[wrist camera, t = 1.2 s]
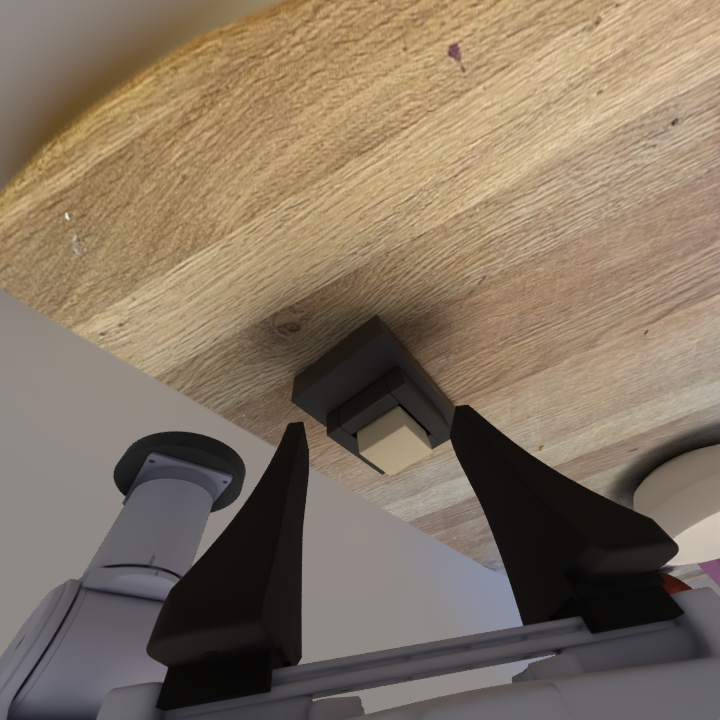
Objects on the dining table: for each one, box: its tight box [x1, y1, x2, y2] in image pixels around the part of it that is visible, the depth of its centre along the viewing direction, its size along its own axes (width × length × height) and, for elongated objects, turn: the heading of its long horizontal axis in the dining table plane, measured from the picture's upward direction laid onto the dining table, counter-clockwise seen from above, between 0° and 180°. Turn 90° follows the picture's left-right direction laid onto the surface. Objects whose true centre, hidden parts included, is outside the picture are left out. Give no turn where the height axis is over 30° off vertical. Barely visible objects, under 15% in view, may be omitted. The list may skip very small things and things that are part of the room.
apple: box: [659, 573, 692, 595], centre depth 57 cm, size 7×8×8 cm
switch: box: [357, 405, 433, 476], centre depth 19 cm, size 4×4×2 cm
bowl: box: [633, 444, 720, 565], centre depth 33 cm, size 18×18×7 cm
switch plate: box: [291, 315, 455, 475], centre depth 21 cm, size 12×8×4 cm, turn 38°
